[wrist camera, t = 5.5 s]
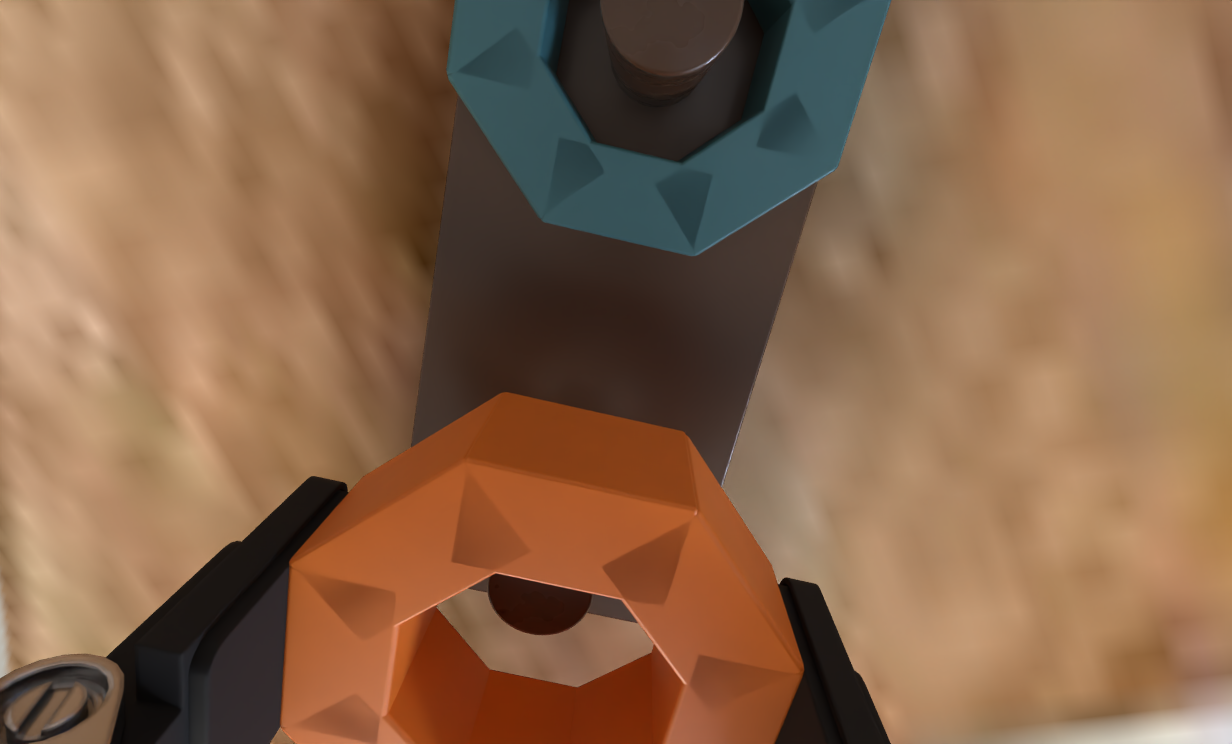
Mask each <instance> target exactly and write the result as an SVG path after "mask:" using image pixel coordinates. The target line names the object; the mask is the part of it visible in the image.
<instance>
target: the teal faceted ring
mask: <svg viewBox="0 0 1232 744" xmlns="http://www.w3.org/2000/svg"><path fill="white" fill-rule="evenodd" d="M748 2H749V4H750V6H751V8H752V10H753V12H754V14H755V16H756V18H757V20H758V22H759V24H760V26H761V28H762V30H763V32H764V36H763V40H762V44H761V47H760V51H759V55H758V59H757V62H756V66H755V70H754V73H753V77H752V81H751V85H750V88H749V92H748V96H747V100H746V103H745V107H744V111H743V115H742V118H741V120H740V121H738V122H737V123H735V124H734V125H732V126H731V127H729V128H728V129H726V130H724V131H723V132H721V133H720V134H718V135H717V136H715V137H714V138H712V139H711V140H709V141H708V142H706V143H705V144H703V145H702V146H700V147H699V148H697V149H695V150H694V151H692V152H691V153H689V154H688V155H686V156H685V157H683V158H682V159H680V160H679V161H673V160H669V159H665V158H660V157H656V156H652V155H648V154H644V153H639V152H635V151H631V150H627V149H623V148H618V147H614V146H610V145H606V144H602V143H597V142H596V140H595V138H594V137H593V135H592V133H591V132H590V130H589V128H588V127H587V125H586V123H585V122H584V120H583V118H582V117H581V115H580V113H579V112H578V110H577V108H576V107H575V105H574V103H573V102H572V100H571V98H570V97H569V95H568V93H567V92H566V90H565V89H564V87H563V85H562V84H561V82H560V80H559V79H558V77H557V75H556V72H557V66H558V60H559V55H560V49H561V44H562V38H563V32H564V27H565V21H566V15H567V10H568V4H569V0H455V5H454V13H453V21H452V29H451V37H450V44H449V52H448V60H447V68H446V71H447V74H448V79H449V81H450V82H451V84H452V86H453V87H454V89H455V90H456V92H457V93H458V95H459V96H460V98H461V99H462V101H463V102H464V104H465V106H466V107H467V109H468V110H469V112H470V113H471V115H472V116H473V118H474V119H475V121H476V122H477V124H478V126H479V127H480V129H481V130H482V132H483V133H484V135H485V136H486V138H487V139H488V141H489V142H490V144H491V145H492V147H493V149H494V150H495V152H496V153H497V155H498V156H499V158H500V159H501V161H502V162H503V164H504V165H505V167H506V169H507V170H508V172H509V173H510V175H511V176H512V178H513V179H514V181H515V182H516V184H517V185H518V187H519V189H520V190H521V192H522V193H523V195H524V196H525V198H526V199H527V201H528V202H529V204H530V205H531V207H532V209H533V210H534V212H535V213H536V215H537V216H538V218H540V219H541V220H542V221H543V222H545V223H549V224H554V225H558V226H562V227H566V228H571V229H575V230H579V231H584V232H588V233H592V234H597V235H601V236H605V237H610V238H614V239H618V240H623V241H627V242H631V243H636V244H640V245H644V246H649V247H653V248H657V249H662V250H666V251H670V252H675V253H679V254H683V255H687V256H697V255H699V254H700V253H702V252H704V251H705V250H707V249H708V248H710V247H712V246H713V245H715V244H716V243H718V242H720V241H721V240H723V239H725V238H726V237H728V236H729V235H731V234H733V233H734V232H736V231H738V230H739V229H741V228H742V227H744V226H746V225H747V224H749V223H750V222H752V221H754V220H755V219H757V218H759V217H760V216H762V215H763V214H765V213H767V212H768V211H770V210H772V209H773V208H775V207H776V206H778V205H780V204H781V203H783V202H784V201H786V200H788V199H789V198H791V197H793V196H794V195H796V194H797V193H799V192H801V191H802V190H804V189H806V188H807V187H809V186H810V185H812V184H814V183H815V182H817V181H818V180H820V179H822V178H823V177H825V176H827V175H828V174H830V173H831V172H833V171H835V169H836V168H837V167H838V165H839V162H840V159H841V156H842V152H843V149H844V146H845V143H846V140H847V137H848V134H849V131H850V127H851V124H852V121H853V118H854V115H855V112H856V109H857V106H858V102H859V99H860V96H861V93H862V90H863V87H864V84H865V81H866V77H867V74H868V71H869V68H870V65H871V62H872V59H873V56H874V52H875V49H876V46H877V43H878V40H879V37H880V34H881V31H882V27H883V24H884V21H885V18H886V15H887V12H888V9H889V6H890V2H891V0H748Z"/></svg>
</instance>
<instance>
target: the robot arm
mask: <svg viewBox="0 0 1232 744" xmlns="http://www.w3.org/2000/svg"><path fill="white" fill-rule="evenodd" d="M348 493H349V492H347V485H346V484H345V483H344V482H339V481H335V480H330V479H325V478H321V477H316V476H311V477H310V478H308V479H307V480H306V481H305V482H304V483H303V484H302V485H301V486H300V487H299V488H297V489H296V490H295V491H294V492H293V493H292V494H291V495H290V496H289V497H288V498H287V499H286V500H285V501H284V502H283V503H282V504H281V505H280V506H279V507H278V508H277V509H275V510H274V511H273V512H272V513H271V514H270V515H269V516H268V517H267V518H266V519H265V520H264V521H263V522H262V523H261V524H260V525H259V526H258V527H257V528H256V529H255V530H253V531H252V532H251V533H250V534H249V535H248V536H247V537H246V538H245V539H244V540H243V541H242V542H240V541H235V542H231V543H230V544H228V545H227V546H226V547H224V548H223V549H222V550H221V551H220V552H219V553H218V554H217V555H215V556H214V557H213V558H212V559H211V560H210V561H209V562H208V563H207V564H206V565H205V566H204V567H203V568H201V569H200V570H199V571H198V572H197V573H196V574H195V575H194V576H193V577H192V578H191V579H190V580H189V581H187V582H186V583H185V584H184V585H183V586H182V587H181V588H180V589H179V590H178V591H177V592H176V593H175V594H173V595H172V596H171V597H170V598H169V599H168V600H167V601H166V602H165V603H164V604H163V605H162V606H161V607H159V608H158V609H157V610H156V611H155V612H154V613H153V614H152V615H151V616H150V617H149V618H148V619H147V620H145V621H144V622H143V623H142V624H141V625H140V626H139V627H138V628H137V629H136V630H135V631H134V632H133V633H131V634H130V635H129V636H128V637H127V638H126V639H125V640H124V641H123V642H122V643H121V644H120V645H119V646H117V647H116V648H115V649H114V650H113V651H112V652H111V653H110V654H109V655H108V656H107V657H106V658H105V657H102V656H96V655H91V654H70V655H61V656H56V657H52V658H47V659H43V660H39V661H36V662H34V663H31V664H29V665H26V666H24V667H21V668H18V669H16V670H14V671H12V672H10V673H9V674H7V675H5V676H3V677H2V678H0V744H270V742H271V740H272V739H273V737H274V736H275V734H276V733H277V731H278V729H279V728H280V726H281V725H280V714H281V697H282V681H283V665H284V648H285V632H286V615H287V599H288V582H289V567H290V564H289V561H290V559H291V558H292V557H293V556H294V554H295V553H296V552H297V551H298V550H299V549H300V548H301V547H302V545H303V544H304V543H305V542H306V541H307V540H308V539H309V537H310V536H311V535H312V534H313V533H314V532H315V531H316V529H317V528H318V527H319V526H320V525H321V524H322V523H323V522H324V520H325V519H326V518H327V517H328V516H329V515H330V514H331V512H332V511H333V510H334V509H335V508H336V507H337V506H338V504H339V503H340V502H341V501H342V500H343V499H344V498H345V497H346V495H347V494H348ZM778 587H779V590H780V593H781V596H782V599H783V602H784V605H785V608H786V611H787V614H788V618H789V621H790V624H791V627H792V630H793V633H794V636H795V639H796V642H797V646H798V649H799V652H800V655H801V658H802V661H803V665H804V674H803V677H802V679H801V682H800V684H799V687H798V689H797V691H796V694H795V696H794V699H793V701H792V704H791V706H790V708H789V711H788V713H787V716H786V718H785V720H784V723H783V725H782V728H781V730H780V733H779V735H778V737H777V740H776V742H775V744H891V743H890V741H889V738H888V736H887V734H886V731H885V729H884V727H883V724H882V722H881V720H880V717H879V715H878V713H877V710H876V708H875V706H874V703H873V701H872V699H871V696H870V694H869V692H868V689H867V687H866V685H865V682H864V681H863V679H862V677H861V676H860V674H858V673H857V672H856V671H854V669H853V667H852V664H851V662H850V660H849V657H848V655H847V652H846V650H845V648H844V645H843V643H842V640H841V638H840V636H839V633H838V631H837V628H836V626H835V624H834V621H833V619H832V616H831V614H830V612H829V609H828V607H827V605H826V602H825V600H824V597H823V595H822V593H821V590H820V588H819V587H818V585H816V584H814V583H809V582H805V581H800V580H795V579H791V578H783V580H782V581H781V582H780V584H778Z"/></svg>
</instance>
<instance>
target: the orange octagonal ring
mask: <svg viewBox="0 0 1232 744" xmlns="http://www.w3.org/2000/svg"><path fill="white" fill-rule="evenodd" d="M289 564H290V567H289V582H288V599H287V615H286V632H285V648H284V665H283V681H282V697H281V714H280V725H281V728H282V730H283V731H284V732H285V733H286V734H287V735H288V736H289V737H290V738H291V739H292V740H293V741H294V742H295V743H296V744H775V742H776V740H777V737H778V735H779V733H780V730H781V728H782V725H783V723H784V720H785V718H786V716H787V713H788V711H789V708H790V706H791V704H792V701H793V699H794V696H795V694H796V691H797V689H798V687H799V684H800V682H801V679H802V677H803V674H804V665H803V661H802V658H801V655H800V652H799V649H798V646H797V642H796V639H795V636H794V633H793V630H792V627H791V624H790V621H789V618H788V614H787V611H786V608H785V605H784V602H783V599H782V596H781V593H780V590H779V587H778V583H777V580H776V577H775V574H774V571H773V568H772V565H771V563H770V562H769V560H768V559H767V557H766V556H765V554H764V552H763V551H762V549H761V548H760V546H759V545H758V543H757V542H756V540H755V539H754V537H753V535H752V534H751V532H750V531H749V529H748V528H747V526H746V525H745V523H744V522H743V520H742V518H741V517H740V515H739V514H738V512H737V511H736V509H735V508H734V506H733V505H732V503H731V501H730V500H729V498H728V497H727V495H726V494H725V492H724V491H723V489H722V488H721V486H720V484H719V483H718V481H717V480H716V478H715V477H714V475H713V474H712V472H711V471H710V469H709V467H708V466H707V464H706V463H705V461H704V460H703V458H702V457H701V455H700V454H699V452H698V450H697V449H696V447H695V446H694V444H693V443H692V441H691V440H690V438H689V437H688V436H687V435H685V432H683V431H679V430H675V429H670V428H666V427H661V426H657V425H652V424H648V423H643V422H639V421H634V420H630V419H625V418H621V417H616V416H612V415H607V414H603V413H598V412H594V411H589V410H585V409H580V408H576V407H571V406H567V405H563V404H558V403H554V402H549V401H545V400H540V399H536V398H531V397H527V396H522V395H518V394H513V393H509V392H504V393H500V394H499V395H497V396H495V397H494V398H492V399H490V400H489V401H487V402H485V403H484V404H482V405H480V406H479V407H477V408H475V409H474V410H472V411H471V412H469V413H467V414H466V415H464V416H462V417H461V418H459V419H457V420H456V421H454V422H452V423H451V424H449V425H447V426H446V427H444V428H442V429H441V430H439V431H438V432H436V433H434V434H433V435H431V436H429V437H428V438H426V439H424V440H423V441H421V442H419V443H418V444H416V445H414V446H413V447H411V448H409V449H408V450H406V451H405V452H403V453H401V454H400V455H398V456H396V457H395V458H393V459H391V460H390V461H388V462H386V463H385V464H383V465H381V466H380V467H378V468H376V469H375V470H373V471H372V472H370V473H368V474H367V475H365V476H363V477H362V478H361V479H360V481H359V482H358V483H357V484H356V485H355V486H354V487H353V489H352V490H351V491H350V492H349V493H348V494H347V495H346V497H345V498H344V499H343V500H342V501H341V502H340V503H339V504H338V506H337V507H336V508H335V509H334V510H333V511H332V512H331V514H330V515H329V516H328V517H327V518H326V519H325V520H324V522H323V523H322V524H321V525H320V526H319V527H318V528H317V529H316V531H315V532H314V533H313V534H312V535H311V536H310V537H309V539H308V540H307V541H306V542H305V543H304V544H303V545H302V547H301V548H300V549H299V550H298V551H297V552H296V553H295V554H294V556H293V557H292V558H291V559H290V561H289ZM496 573H497V574H502V575H507V576H511V577H516V578H521V579H526V580H530V581H535V582H540V583H544V584H549V585H554V586H558V587H563V588H568V589H573V590H577V591H582V592H587V593H591V594H596V595H601V596H606V597H610V598H615V599H620V600H622V602H623V603H624V604H625V606H626V607H627V608H628V610H629V611H630V612H631V614H632V615H633V617H634V618H635V619H636V621H637V622H638V623H639V625H640V626H641V627H642V629H643V630H644V631H645V633H646V634H647V635H648V637H649V638H650V639H651V641H652V642H653V643H654V646H653V650H652V653H650V654H647V655H645V656H643V657H641V658H639V659H637V660H635V661H633V662H631V663H628V664H626V665H624V666H622V667H620V668H618V669H616V670H614V671H612V672H609V673H607V674H605V675H603V676H601V677H599V678H597V679H595V680H592V681H590V682H588V683H586V684H584V685H582V686H580V687H578V688H577V687H572V686H567V685H562V684H558V683H553V682H548V681H543V680H538V679H533V678H529V677H524V676H519V675H514V674H509V673H504V672H500V671H495V670H490V669H489V668H488V667H487V666H486V665H485V664H484V663H483V661H482V660H481V659H480V658H479V657H478V656H477V654H476V653H475V652H474V651H473V650H472V649H471V647H470V646H469V645H468V644H467V643H466V642H465V640H464V639H463V638H462V637H461V636H460V634H459V633H458V632H457V631H456V630H455V629H454V627H453V626H452V625H451V624H450V623H449V622H448V620H447V619H446V618H445V617H444V616H443V615H442V613H441V612H440V611H439V610H438V609H437V608H436V607H437V605H438V604H439V603H441V602H443V601H445V600H447V599H449V598H451V597H453V596H454V595H456V594H458V593H460V592H462V591H464V590H466V589H468V588H469V587H471V586H473V585H475V584H477V583H479V582H481V581H482V580H484V579H486V578H488V577H490V576H492V575H494V574H496Z"/></svg>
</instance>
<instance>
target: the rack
mask: <svg viewBox="0 0 1232 744" xmlns="http://www.w3.org/2000/svg"><path fill="white" fill-rule="evenodd" d="M763 36H764V32H763V30H762V28H761V26H760V24H759V22H758V20H757V18H756V16H755V14H754V12H753V10H752V8H751V6H750V4H749V2H748V0H569V4H568V10H567V15H566V21H565V27H564V32H563V38H562V44H561V49H560V55H559V60H558V66H557V72H556V75H557V77H558V79H559V80H560V82H561V84H562V85H563V87H564V89H565V90H566V92H567V93H568V95H569V97H570V98H571V100H572V102H573V103H574V105H575V107H576V108H577V110H578V112H579V113H580V115H581V117H582V118H583V120H584V122H585V123H586V125H587V127H588V128H589V130H590V132H591V133H592V135H593V137H594V138H595V140H596V142H597V143H602V144H606V145H610V146H614V147H618V148H623V149H627V150H631V151H635V152H639V153H644V154H648V155H652V156H656V157H660V158H665V159H669V160H673V161H679V160H680V159H682V158H683V157H685V156H686V155H688V154H689V153H691V152H692V151H694V150H695V149H697V148H699V147H700V146H702V145H703V144H705V143H706V142H708V141H709V140H711V139H712V138H714V137H715V136H717V135H718V134H720V133H721V132H723V131H724V130H726V129H728V128H729V127H731V126H732V125H734V124H735V123H737V122H738V121H740V120H741V118H742V115H743V111H744V107H745V103H746V100H747V96H748V92H749V88H750V85H751V81H752V77H753V73H754V70H755V66H756V62H757V59H758V55H759V51H760V47H761V44H762V40H763ZM817 182H818V181H817ZM817 182H815V183H814V184H812V185H810V186H809V187H807V188H806V189H804V190H802V191H801V192H799V193H797V194H796V195H794V196H793V197H791V198H789V199H788V200H786V201H784V202H783V203H781V204H780V205H778V206H776V207H775V208H773V209H772V210H770V211H768V212H767V213H765V214H763V215H762V216H760V217H759V218H757V219H755V220H754V221H752V222H750V223H749V224H747V225H746V226H744V227H742V228H741V229H739V230H738V231H736V232H734V233H733V234H731V235H729V236H728V237H726V238H725V239H723V240H721V241H720V242H718V243H716V244H715V245H713V246H712V247H710V248H708V249H707V250H705V251H704V252H702V253H700V254H699V255H697V256H687V255H683V254H679V253H675V252H670V251H666V250H662V249H657V248H653V247H649V246H644V245H640V244H636V243H631V242H627V241H623V240H618V239H614V238H610V237H605V236H601V235H597V234H592V233H588V232H584V231H579V230H575V229H571V228H566V227H562V226H558V225H554V224H549V223H545V222H543V221H542V220H541V219H540V218H538V216H537V215H536V213H535V212H534V210H533V209H532V207H531V205H530V204H529V202H528V201H527V199H526V198H525V196H524V195H523V193H522V192H521V190H520V189H519V187H518V185H517V184H516V182H515V181H514V179H513V178H512V176H511V175H510V173H509V172H508V170H507V169H506V167H505V165H504V164H503V162H502V161H501V159H500V158H499V156H498V155H497V153H496V152H495V150H494V149H493V147H492V145H491V144H490V142H489V141H488V139H487V138H486V136H485V135H484V133H483V132H482V130H481V129H480V127H479V126H478V124H477V122H476V121H475V119H474V118H473V116H472V115H471V113H470V112H469V110H468V109H467V107H466V106H465V104H464V102H463V101H462V99H461V98H460V96H459V95H458V97H457V104H456V112H455V119H454V127H453V134H452V142H451V149H450V157H449V165H448V172H447V180H446V187H445V195H444V202H443V210H442V217H441V225H440V232H439V240H438V247H437V255H436V262H435V270H434V277H433V285H432V292H431V300H430V308H429V315H428V323H427V330H426V338H425V345H424V353H423V360H422V368H421V375H420V383H419V390H418V398H417V405H416V413H415V420H414V428H413V436H412V443H411V447H413V446H414V445H416V444H418V443H419V442H421V441H423V440H424V439H426V438H428V437H429V436H431V435H433V434H434V433H436V432H438V431H439V430H441V429H442V428H444V427H446V426H447V425H449V424H451V423H452V422H454V421H456V420H457V419H459V418H461V417H462V416H464V415H466V414H467V413H469V412H471V411H472V410H474V409H475V408H477V407H479V406H480V405H482V404H484V403H485V402H487V401H489V400H490V399H492V398H494V397H495V396H497V395H499V394H500V393H504V392H509V393H513V394H518V395H522V396H527V397H531V398H536V399H540V400H545V401H549V402H554V403H558V404H563V405H567V406H571V407H576V408H580V409H585V410H589V411H594V412H598V413H603V414H607V415H612V416H616V417H621V418H625V419H630V420H634V421H639V422H643V423H648V424H652V425H657V426H661V427H666V428H670V429H675V430H679V431H683V432H685V435H687V436H688V437H689V438H690V440H691V441H692V443H693V444H694V446H695V447H696V449H697V450H698V452H699V454H700V455H701V457H702V458H703V460H704V461H705V463H706V464H707V466H708V467H709V469H710V471H711V472H712V474H713V475H714V477H715V478H716V480H717V481H718V483H719V484H720V486H721V488H722V486H723V483H724V480H725V476H726V473H727V470H728V467H729V464H730V460H731V457H732V454H733V451H734V448H735V444H736V441H737V438H738V435H739V432H740V428H741V425H742V422H743V419H744V416H745V412H746V409H747V406H748V403H749V400H750V396H751V393H752V390H753V387H754V384H755V380H756V377H757V374H758V371H759V368H760V364H761V361H762V358H763V355H764V352H765V348H766V345H767V342H768V339H769V336H770V332H771V329H772V326H773V323H774V320H775V316H776V313H777V310H778V307H779V304H780V300H781V297H782V294H783V291H784V288H785V284H786V281H787V278H788V275H789V272H790V268H791V265H792V262H793V259H794V256H795V252H796V249H797V246H798V243H799V240H800V236H801V233H802V230H803V227H804V224H805V220H806V217H807V214H808V211H809V208H810V204H811V201H812V198H813V195H814V192H815V188H816V185H817ZM468 589H473V590H478V591H483V592H487V593H488V597H489V600H490V603H491V605H492V607H493V609H494V611H495V612H496V613H497V615H498V616H499V617H500V618H501V619H502V620H503V621H504V622H506V623H507V624H508V625H510V626H511V627H513V628H515V629H517V630H519V631H522V632H525V633H529V634H534V635H551V634H557V633H560V632H563V631H566V630H568V629H570V628H571V627H573V626H575V625H576V624H577V623H578V622H580V621H581V619H582V618H583V617H584V616H585V615H586V613H591V614H596V615H601V616H605V617H610V618H615V619H620V620H625V621H630V622H635V623H638V622H637V621H636V619H635V618H634V617H633V615H632V614H631V612H630V611H629V610H628V608H627V607H626V606H625V604H624V603H623V602H622V600H620V599H615V598H610V597H606V596H601V595H596V594H591V593H587V592H582V591H577V590H573V589H568V588H563V587H558V586H554V585H549V584H544V583H540V582H535V581H530V580H526V579H521V578H516V577H511V576H507V575H502V574H497V573H496V574H494V575H492V576H490V577H488V578H486V579H484V580H482V581H481V582H479V583H477V584H475V585H473V586H471V587H469V588H468Z"/></svg>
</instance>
